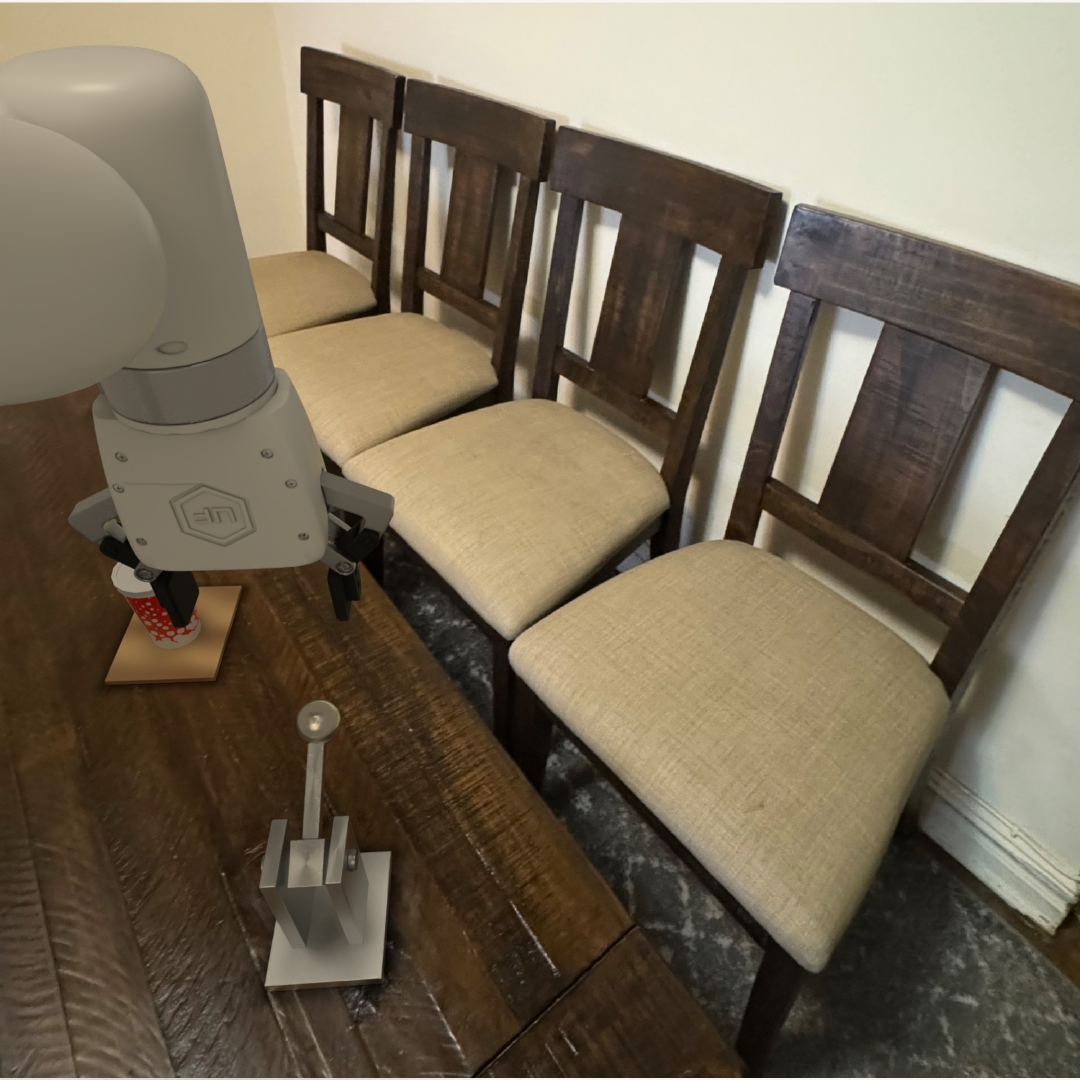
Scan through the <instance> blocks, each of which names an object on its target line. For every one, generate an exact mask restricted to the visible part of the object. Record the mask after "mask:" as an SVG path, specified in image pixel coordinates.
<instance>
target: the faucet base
mask: <svg viewBox="0 0 1080 1080" xmlns="http://www.w3.org/2000/svg"><path fill="white" fill-rule="evenodd" d="M269 829H270V830H269V834H268V840H267V844H266V849H265V853H264V854H263V855H262V858H261V860H260V861H261V862H260V880H259V884H258V889H259V891H260V892H261V895H262V897H263V898H264V900H265V901H266V904H267V905H268V908H269V909H270V911H271V912H272V914H273V916H274V918H275V924H274V928H273V929H274V930H273V934H272V940H271V946H270V951H269V958H268V963H267V968H266V973H265V974H266V975H265V980H264V988H265V990H266V991H267V992H284V991H298V990H311V989H324V988H325V989H326V988H327V989H328V988H341V987H353V986H354V987H355V986H368V985H383V984H384V980H385V966H386V953H387V952H386V951H387V939H388V925H389V913H390V897H391V883H392V871H393V854H392V851H391V850H389V851H369V852H361V851H360V849H359V845H358V842H357V838H356V835H355V833H354V828H353V824H352V822H351V818H350V816H349V815H339V816H336V815H335V816H334V817H333V821H332V828H331V836H330V839H331V842H330V849H329V857H328V864H327V871H326V879H325V885H324V886H313V887H297V888H287V885H288V870H289V856H290V841H291V840H297V839H296V836H295V833H294V832H293V830H292V826H291V825H290V822H289V820H288V818H285V819H284V818H283V819H281V818H280V819H272V820H271V824H270V828H269Z"/></svg>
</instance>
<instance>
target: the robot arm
mask: <svg viewBox="0 0 1080 1080" xmlns="http://www.w3.org/2000/svg"><path fill="white" fill-rule="evenodd" d="M223 153H224V152H223V149H222V145H221V141H220V137H219V133H218V128H217V125H216V120H215V117H214V113H213V110H212V107H211V103H210V99H209V96H208V94H207V91H206V89H205V87H204V85H203V83H202V82H201V80H200V78H199V77H198V76H197V75H196V73H194V71H193V70H192V69H191V68H190V67H189V66H188V65H187V64H186V63H184V62H183V61H181V60H180V59H178V58H177V57H175V56H173V55H171V54H169V53H165V52H163V51H159V50H155V49H151V48H146V47H140V46H128V45H111V44H110V45H109V44H108V45H107V44H105V45H103V44H102V45H98V44H97V45H95V44H94V45H77V46H76V45H75V46H64V47H56V48H48V49H40V50H36V51H31V52H27V53H23V54H20V55H16V56H14V57H11V58H8V59H7V60H5V61H3V62H1V63H0V407H3V406H4V407H5V406H14V405H20V404H28V403H34V402H39V401H45V400H50V399H54V398H59V397H63V396H65V395H69V394H72V393H75V392H77V391H81V390H84V389H87V388H89V387H93V386H94V385H95V384H96V385H97V387H98V390H99V392H100V393H99V394H98V396H97V397H96V398H95V400H93V402H92V405H91V410H92V417H93V426H94V431H95V436H96V437H95V438H96V442H97V446H98V451H99V456H100V460H101V464H102V468H103V471H104V476H105V479H106V483H107V487H106V488H104V489H102V490H100V491H98V492H96V493H94V494H92V495H90V496H88V497H86V498H84V499H82V500H80V501H78V502H77V503H76V504H75V506H74V507H73V509H72V510H71V513H70V514H69V516H68V518H67V523H68V524H69V525H70V527H72V528H73V529H74V530H75V531H77V532H78V533H79V534H80V535H82V536H84V537H85V538H86V539H87V540H89V541H90V542H91V543H93V544H94V543H96V544H97V545H98V546H99V547H98V549H99V552H100V553H101V554H102V555H104V556H106V557H108V558H109V559H112V560H114V561H115V562H117V563H118V562H120V563H122V564H124V565H126V566H128V567H130V568H132V569H134V576H135V577H136V578H137V579H138V580H140V581H143V582H149V583H150V585H151V587H152V589H153V591H154V593H155V596H156V598H157V600H158V602H159V604H160V606H161V607H162V608H165V609H166V611H167V613H168V615H169V617H170V619H171V621H172V623H173V626H174V627H175V628H184V627H186V625H189V622H190V619H191V616H192V613H193V611H194V608H195V605H196V602H197V599H198V596H199V588H198V587H199V586H198V583H197V581H196V578H195V576H194V574H193V572H197V571H198V572H199V571H231V570H232V571H233V570H234V571H235V570H236V571H237V570H260V569H283V568H295V567H302V566H308V565H310V564H313V563H316V562H318V561H319V562H320V563H321V564H323V565H325V566H326V567H327V568H328V571H327V576H326V577H327V578H326V579H327V585H328V590H329V594H330V598H331V602H332V607H333V610H334V616H335V619H336V620H339V622H349V621H350V617H351V609H352V608H351V607H352V602H358V601H361V598H362V597H361V596H362V578H361V573H360V568H359V563H360V562H361V561H362V560H364V559H365V558H366V557H367V556H368V555H369V554H370V553H372V552H373V551H374V550H375V549H376V548H377V547H378V546H379V545H380V540H381V538H382V536H383V535H384V534H385V532H386V531H387V528H388V527H389V524H390V523H391V521H392V519H393V517H394V514H395V503H396V500H395V497H394V496H393V494H391V493H388V492H386V491H382V490H380V489H377V488H373V487H371V486H368V485H365V484H363V483H359V482H358V481H357V482H356V481H354V480H352V479H351V480H350V479H347V478H345V477H343V476H339V475H336V474H333V473H331V472H328V470H327V468H326V465H325V459H324V458H323V454H322V451H321V448H320V445H319V442H318V439H317V436H316V433H315V430H314V427H313V425H312V422H311V420H310V418H309V416H308V413H307V411H306V408H305V406H304V404H303V401H302V400H301V398H300V395H299V394H298V392H297V391H298V390H297V389H296V387H295V384H294V383H293V381H292V379H291V378H290V376H289V374H288V372H287V371H286V369H284V368H281V367H277V366H276V367H275V365H274V360H273V356H272V352H271V348H270V344H269V340H268V336H267V331H266V328H265V323H264V320H263V319H264V318H263V317H262V316H263V315H262V311H261V307H260V303H259V299H258V295H257V291H256V287H255V283H254V278H253V274H252V269H251V265H250V262H249V256H248V252H247V248H246V244H245V240H244V236H243V232H242V228H241V224H240V223H241V222H240V219H239V215H238V211H237V206H236V203H235V198H234V195H233V190H232V187H231V183H230V179H229V174H228V170H227V165H226V162H225V157H224V154H223ZM334 508H336V509H339V510H342V511H345V512H347V513H351V514H354V515H357V516H360V517H361V518H360V519H359V520H358V521H357V522H356V523H355V524H353V526H352V527H351V526H349V525H348V524H347V523H346V522H344V521H343V520H342V519H340V518H338V517H337V516H336V515H334V514H333V513H332V512H333V509H334ZM116 518H118V519H119V520H120V521H119V522H118V520H117V519H116ZM329 539H330V540H331V541H332V542H331V541H330V540H329Z"/></svg>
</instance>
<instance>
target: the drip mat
mask: <svg viewBox="0 0 1080 1080" xmlns="http://www.w3.org/2000/svg"><path fill="white" fill-rule="evenodd" d="M198 588H199V596H198V599H197V602H196V605H195V607H196V610H197V613H198V616H199V619H200V622H201V630H200V633H199V634H198V636H197V637H196V638H195V639H194V640H193V641H192V642H190V643H189V644H187V645H185V646H182V647H180V648H175V649H164V648H160V647H159V646H157V645H156V644H154V642H153V640H152V639H151V637H150V636H149V634H148V633H147V631H146V629H145V628H144V626H143V625H142V623H141V622H140V620H139V618H138V617H137V615H136V614H135V612H134V611H133V615H132V617H131V619H130V622H129V624H128V626H127V629H126V631H125V633H124V635H123V638H122V640H121V642H120V645H119V647H118V649H117V651H116V654H115V656H114V658H113V661H112V664H111V665H110V667H109V669H108V672H107V675H106V677H105V679H104V683H105V685H106V686H118V685H119V686H120V685H121V686H122V685H141V684H142V685H143V684H144V685H145V684H168V683H171V684H173V683H193V682H197V683H199V682H215V681H216V680H217V678H218V674H219V670H220V667H221V664H222V660H223V657H224V653H225V650H226V647H227V645H228V640H229V637H230V634H231V631H232V627H233V623H234V620H235V617H236V613H237V610H238V607H239V604H240V600H241V597H242V594H243V591H244V588H243V586H242V585H217V586H198Z"/></svg>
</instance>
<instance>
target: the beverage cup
mask: <svg viewBox="0 0 1080 1080" xmlns="http://www.w3.org/2000/svg"><path fill="white" fill-rule="evenodd" d="M110 578H111V581H112V582H113V586H114V588H115V589H116V591H117V592H118V593H120V594H121V595H122V596H123V597H124V598H125V599H126V601H127V603H128V605H129V606H130V607H131V609H132V610H133V613H134V612H135V614H136V615H137V617H138V618H139V620H140V622H141V623H142V625H143V626H144V628H145V629H146V631H147V633H148V634H149V636H150V637H151V639H152V640H153V642H154V644H156V645H157V646H159V647H160V648H164V649H175V648H180V647H182V646H185V645H187V644H189V643H190V642H192V641H193V640H194V639H195V638H196V637H197V636H198V634H199V633H200V630H201V622H200V619H199V616H198V613H197V610H196V607H195V608H194V611H193V613H192V616H191V619H190V622H189V625H186V627H184V628H175V627H174V626H173V623H172V621H171V619H170V617H169V615H168V613H167V611H166V609H165V608H162V607H161V606H160V604H159V602H158V600H157V598H156V596H155V593H154V591H153V589H152V587H151V585H150V583H149V582H143V581H140V580H138V579H137V578H136V577H135V576H134V569H132V568H130V567H128V566H126V565H124V564H122V563H120V562H118V561H117V563H116V564H115V565H114V567H113V568H112V572H111V576H110Z"/></svg>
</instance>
